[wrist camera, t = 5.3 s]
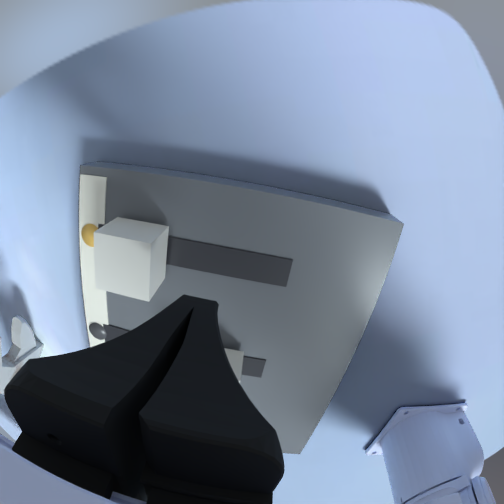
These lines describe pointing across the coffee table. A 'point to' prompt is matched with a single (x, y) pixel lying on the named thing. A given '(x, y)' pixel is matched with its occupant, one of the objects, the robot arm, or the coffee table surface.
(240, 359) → the white cube
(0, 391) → the wrench
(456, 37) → the coffee table surface
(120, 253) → the switch tab
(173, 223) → the switch board
